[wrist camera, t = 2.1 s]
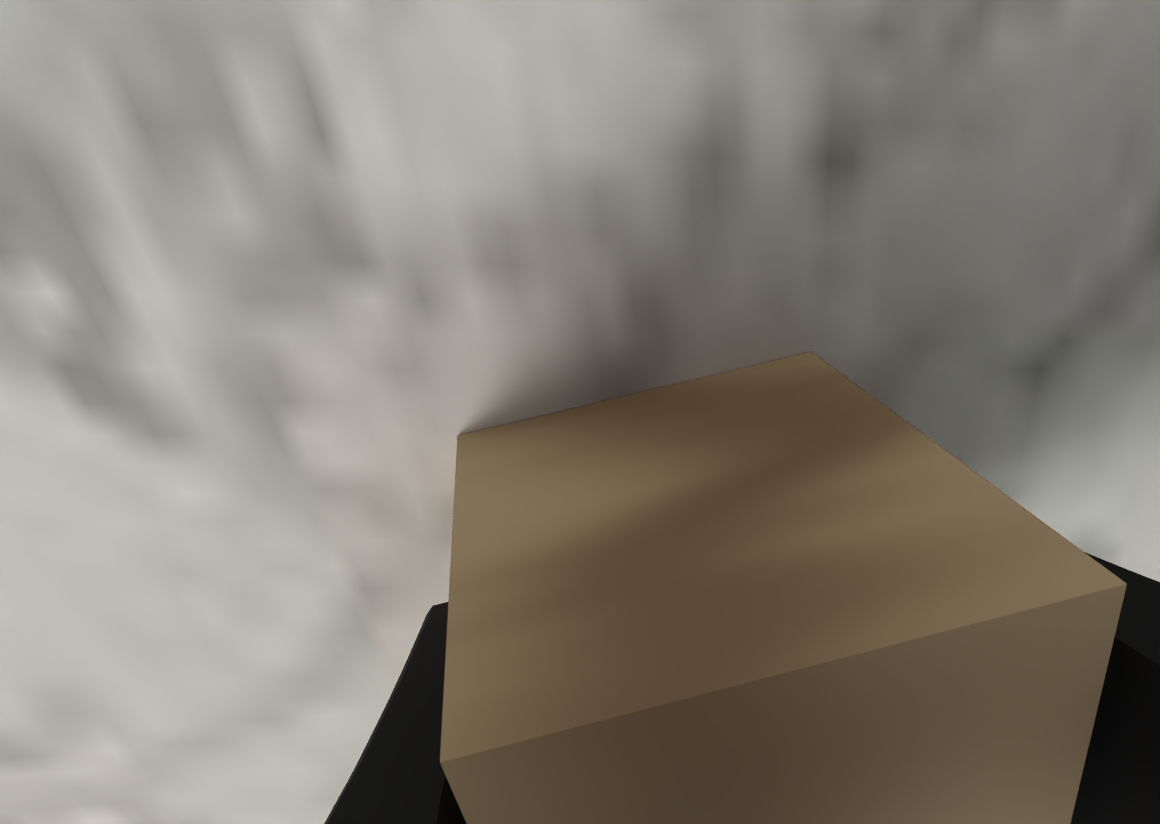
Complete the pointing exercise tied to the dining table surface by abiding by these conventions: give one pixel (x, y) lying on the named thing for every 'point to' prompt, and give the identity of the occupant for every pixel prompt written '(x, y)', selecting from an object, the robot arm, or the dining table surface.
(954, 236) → the dining table surface
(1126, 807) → the robot arm
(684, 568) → the oak cube
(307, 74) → the dining table surface
